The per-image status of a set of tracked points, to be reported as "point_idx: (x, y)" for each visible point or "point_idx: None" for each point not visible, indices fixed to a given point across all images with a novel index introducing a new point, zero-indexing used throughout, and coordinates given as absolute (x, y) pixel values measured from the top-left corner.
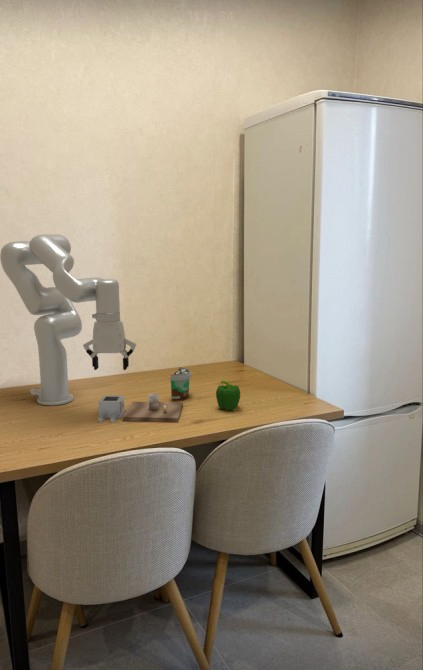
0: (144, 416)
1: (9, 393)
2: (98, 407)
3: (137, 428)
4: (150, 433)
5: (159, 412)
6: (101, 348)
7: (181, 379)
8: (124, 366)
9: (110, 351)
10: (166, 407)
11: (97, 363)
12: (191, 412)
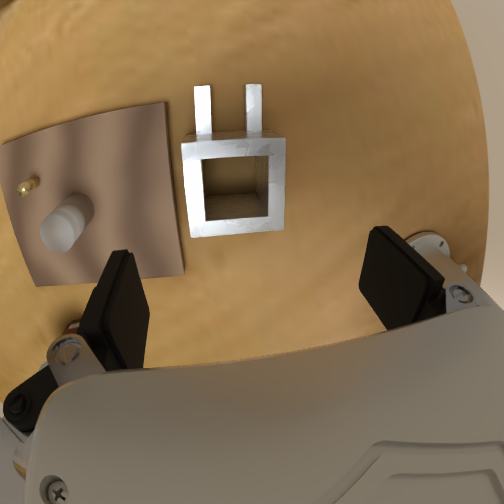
0: (83, 127)
1: None
2: (278, 134)
3: (97, 51)
4: (53, 29)
5: (51, 181)
6: (468, 368)
7: (43, 365)
8: (110, 265)
9: (284, 372)
10: (19, 186)
11: (381, 290)
12: (3, 235)
